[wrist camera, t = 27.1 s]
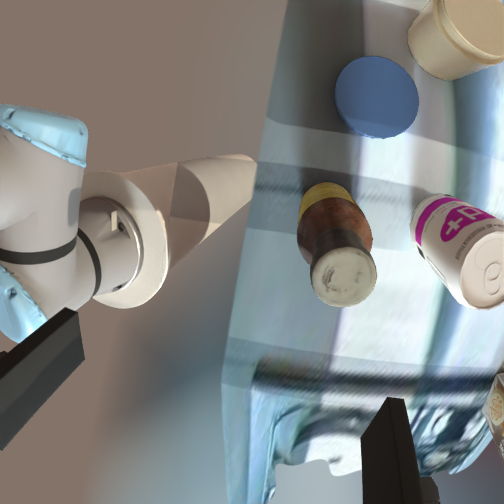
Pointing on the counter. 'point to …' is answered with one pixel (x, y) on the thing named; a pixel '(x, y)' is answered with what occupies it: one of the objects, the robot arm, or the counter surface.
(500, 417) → the coffee box
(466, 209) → the supplement can
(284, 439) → the counter surface
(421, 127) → the counter surface
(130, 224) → the robot arm
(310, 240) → the sauce bottle
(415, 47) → the jar
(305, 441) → the counter surface
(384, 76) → the lid
